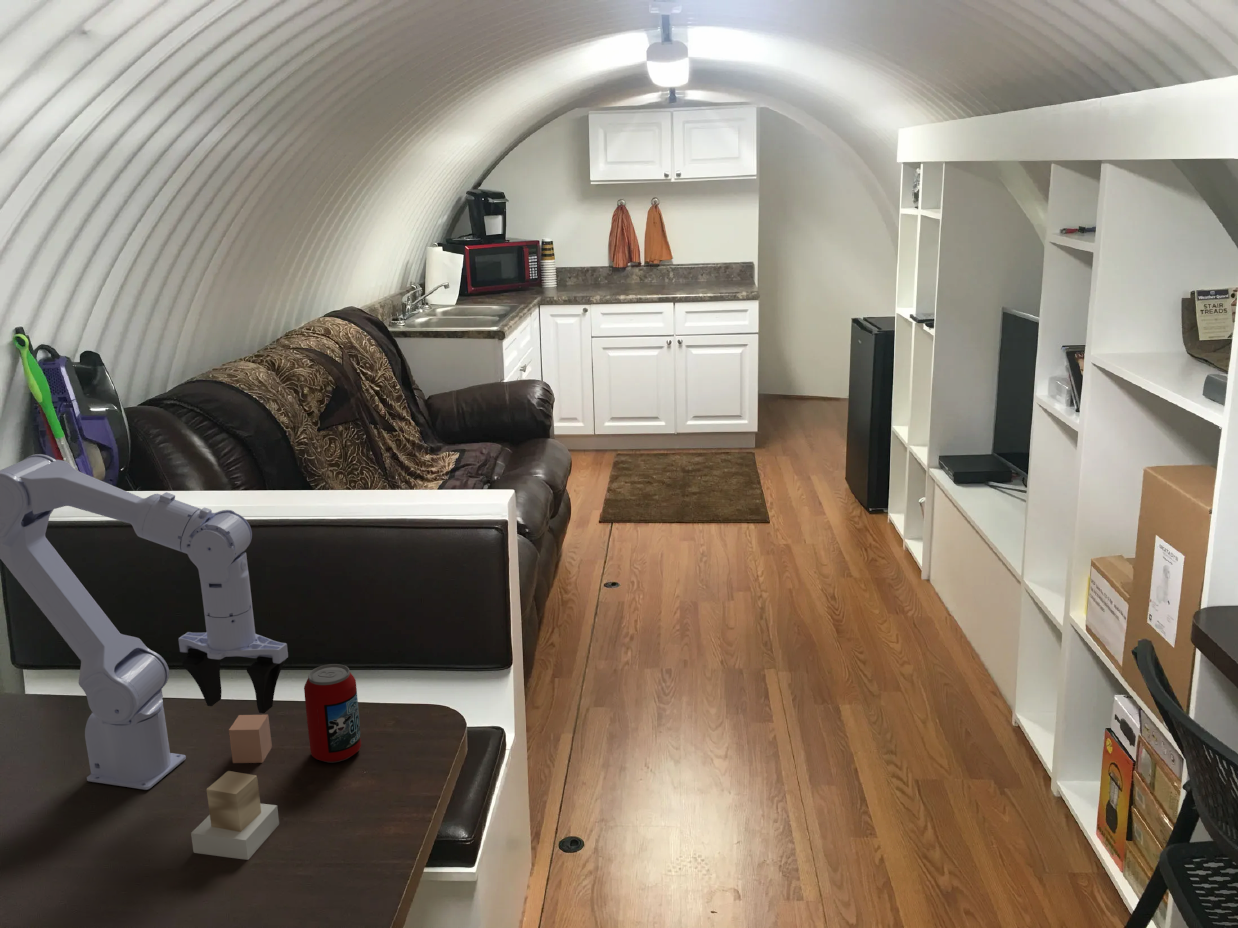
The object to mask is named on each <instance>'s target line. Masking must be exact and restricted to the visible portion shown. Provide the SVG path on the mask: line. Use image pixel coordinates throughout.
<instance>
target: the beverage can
mask: <svg viewBox="0 0 1238 928" xmlns="http://www.w3.org/2000/svg"><path fill="white" fill-rule="evenodd" d="M307 676H308V678H307V679H306V682H305V683H304V687H303V692H304V702H305V711H306V712H305V713H306V723H307V732H308V740H309V749H310V754H311V756H312V757H313V759H316V760H319V761H321V762H325V763H331V764H332V763H339V762H342V761H346V760H348V759H349V758H351V757H352V756H354V755H355V754H357V753H358V752H359V751H360V749H361V747H362V737H361V724H360V713H359V701H358V690H357V680H356V678H355V676H354V675H353V674H352V673H351V671H350V668H349V667H348V666H347V665H343V664H338V663H330V664H324V665H320V666H318V667H315V668H314V669H312V670H311V671H310V672H309V673H308V675H307Z"/></svg>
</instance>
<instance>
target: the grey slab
mask: <svg viewBox="0 0 1238 928" xmlns="http://www.w3.org/2000/svg"><path fill="white" fill-rule="evenodd" d="M260 805H261V813H260V814H259V815H258V816H257V817H256V818H255V819H254V820H253V821H252V822H251V823H250V824H249V825H248V826H247V827H246V828H245V829H244V830H242V831H241V832H238V831H232V830H227V829H221V828H216V827H211V820H210V814H209V815H208V816H207V817H206V818H205V819H204V820H203V821H202V822H200V823H199V824H198V825H197V826H196V827H195V829H193V830H192V832H190V836H191V842H192V843H191V844H192V850H193V851H192V852H193V853H194V854H199V855H200V854H201V855H209V856H215V857H216V856H217V857H223V858H232V859H240V860H245V861H247V860H248V861H249V859H250V858H252V856H253V855H254V854H255V853H256V851H257V850H258V849H259V848H260V847H261V846H262V845H263V844H264V842H265V841H267V839H268V838H269V837H270V835H272V833H273V832H274V831H275V830H276V828H278V826H279V825H280V819H279V811H278V805H276V804H269V803H267V804H266V803H261V802H260Z"/></svg>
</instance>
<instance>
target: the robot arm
mask: <svg viewBox="0 0 1238 928" xmlns="http://www.w3.org/2000/svg"><path fill="white" fill-rule="evenodd" d="M63 507H72V508H74V509H75V508H76V509H78V510H82V511H84V512H89V513H92V514H95V515H98V516H99V515H100V516H101V517H106V518H109V519H112V520H116V521H120V522H123V523H127V524H130V525H131V526H132V528H133V530H134V533H135V534H136V536H137V537H139V538H141V539H144V540H145V541H146V540H148V541H150V542H153V543H155V544H159V545H161V546H164V547H166V548H170V549H172V550H175V551H178V552H180V553H184V554H187V556H188V558H189V560H190V562H192V563H193V564H194V565H195V566H196V568H197V570H198V575H199V580H200V581H199V582H200V589H201V595H202V596H201V597H202V605H203V614H204V622H205V630H206V632H191V631H187V632H186V633H185V634H182V635H181V636H180V637H178V640H177V641H178V647H179V652H180V653H187V654H186V657H183V659H182V660H181V663H182V664H181V665H182V667H183V668H184V669H185V670H186V671H187V672H188V673H189V674H190V675H191V677H192V678H193V679H194V681H195V683H196V685H197V686H198V688H199V690H200V692H201V694H202V696H203V698H204V701H205V703H206V706H207V707H213V706H214V705H216V704H217V703H218V702H219V701H220V700H222V683H221V660H222V659H224V658H226V657H227V658H228V657H229V658H230V657H242V658H250V659H256V661H255V662H253V663H252V664H250V665H249V666H248V667H246V672H247V674H248V676H249V679H250V680H251V683H252V686H253V689H254V692H255V699H256V700H255V702H256V706H257V710H258V713H259V714H265V713H267V712H268V711H269V710H270V709H271V708H272V707H273V704H274V699H275V698H274V695H275V691H276V688H277V687H276V686H277V682H278V679H279V676H280V673H281V671H282V668H283V666H284V664H285V662H286V660H287V658H289V652H288V643H286V642H280V641H276V640H273V639H271V638H268V637H265V636H263V635H261V634H257V633H256V627H255V619H254V618H255V617H254V610H253V602H252V601H253V600H252V592H251V581H250V573H249V567H248V559H247V558H248V557H247V552H245V551H246V550H247V548H248V547H249V546H250V544H251V542H252V538H253V531H252V528H251V525H250V523H249V522H248V521H247V519H246V518H245V517H244V516H242V515H241V514H239V513H237V512H236V511H233V510H232V509H222V510H219V511H216V512H212V509H210V508H208V507H203V508H200V507H197V506H193V505H191V504H188V503H185V502H182V501H180V500H177V499H176V495H175V494H173V493H169V492H164V493H163V494H161V493H154V494H152V495H149V496H147V497H141V496H138V495H136V494H134V493H131V492H129V491H126V490H124V489H122V488H119V487H117V486H114V485H112V484H110V483H108V482H105V481H102V480H100V479H99V478H97V477H93V476H92V475H88V474H86V473H83V472H81V471H79V470H77V469H75V467H73V466H72V465H71V463H69V462H68V461H65V460H63V459H62V460H61V459H55V458H53V457H51V455H50V456H49V455H47V454H41V453H39V454H38V453H37V454H35V453H34V454H32V455H29V456H27V457H25V458H24V459H23V460H21V461H19V462H16V463H13V464H11V465H9V466H6V467H4V468H1V469H0V560H1V561H2V563H3V564H4V565H5V566H6V567H7V569H8V570H9V571H10V573H11V574H12V576H13V577H14V579H16V580H17V582H18V583H19V584H20V586H21V587H22V588H23V589H24V590H25V592H26V593H27V594H28V596H30V598H31V600H33V602H34V603H35V604H36V606H37V607H38V608H39V610H40V611H41V612H42V614H43V615H44V616H45V617H46V618H47V620H48V621H49V622H50V623H51V625H52V626H53V627H54V628H55V630H56V631H57V632H58V634H59V635H60V636H61V637H62V638H63V640H64V642H65V643H66V644H67V645H68V646H69V648H70V649H71V650H72V651H73V652H74V654H75V655H76V657H78V659H79V660H80V668H79V669H80V670H79V675H78V686H79V687H80V688H81V689H82V691H83V692H84V694H85V696H86V698H87V699H86V700H87V703H88V707H89V709H90V710H91V714H90V715H89V717H88V718H87V721H86V725H85V728H84V739H85V744H86V752H87V756H88V764H89V769H90V770H89V771H90V774H89V775H88V776H86V781H88V782H92V783H97V784H98V783H99V784H105V785H112V786H119V787H127V788H132V789H138V790H144V791H147V790H150V789H151V788H152V787H153V786H155V785H156V784H157V783H158V782H160V781H161V780H162V779H163V778H164V777H165V776H166V775H168V774H169V773H171V772H172V771H173V770H174V769H175V768H176V767H178V766H179V765H181V763H183V762H184V761H185V760H186V758H187V757H186V756H187V755H185V754H180V753H174V752H171V750H170V743H169V738H168V737H169V736H168V729H167V721H166V715H165V709H164V701H163V698H164V695H163V688H164V687H165V686H166V684H167V683H168V680H169V677H170V669H169V666H168V664H167V662H166V660H165V659H164V657H162V655H160V654H159V653H157V652H155V651H154V650H151V649H150V648H149V647H147V646H146V644H145V643H144V642H143V641H142V639H140V638H139V637H136V636H131V635H127V634H123V633H120V631H119V630H118V628H117V627H116V626H115V625H114V624H113V622H112V621H111V619H110V618H109V617H108V615H107V614H106V613H105V612H104V611H103V609H102V608H101V607H100V605H99V604H98V603H97V601H96V600H95V599H94V598H93V597H92V595H91V594H90V593H89V591H88V590H87V589H86V588H85V586H84V585H83V584H82V582H81V581H80V580H79V578H78V577H77V576H76V575H75V573H74V571H73V570H72V568H70V567H69V566H68V564H67V563H66V562H65V560H64V559H63V558H62V557H61V555H60V554H59V553H58V551H57V550H56V549H55V547H54V546H53V545H52V544H51V542H50V541H49V540H48V538H47V537H46V532H47V528H48V524H49V520H50V517H51V514H52V513H53V511H54V510H55V509H59V508H63Z"/></svg>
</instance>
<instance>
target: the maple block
mask: <svg viewBox="0 0 1238 928" xmlns="http://www.w3.org/2000/svg"><path fill="white" fill-rule="evenodd" d="M259 790H260V788H259V781H258V775H255V774H251V773H250V774H249V773H245V772H244V773H243V772H236V771H231V770H227V771H226V772H225V773H224V774H222V775H221V776H220V777H219V778H218V779H217V780H215V781H214V782H213V783H212V784H211V785H210V786H208V787H207V788H206V796H207V803H208V812H209V815H210V820H211V827H216V828H221V829H227V830H232V831H238V832H241V831H242V830H244V829H245V828H246V827H247V826H248V825H249V824H250V823H251V822H252V821H253V820H254V819H255V818H256V817H257V816H258V815H259V814H260V813H261V805H260V803H261V798H260V791H259Z"/></svg>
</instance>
